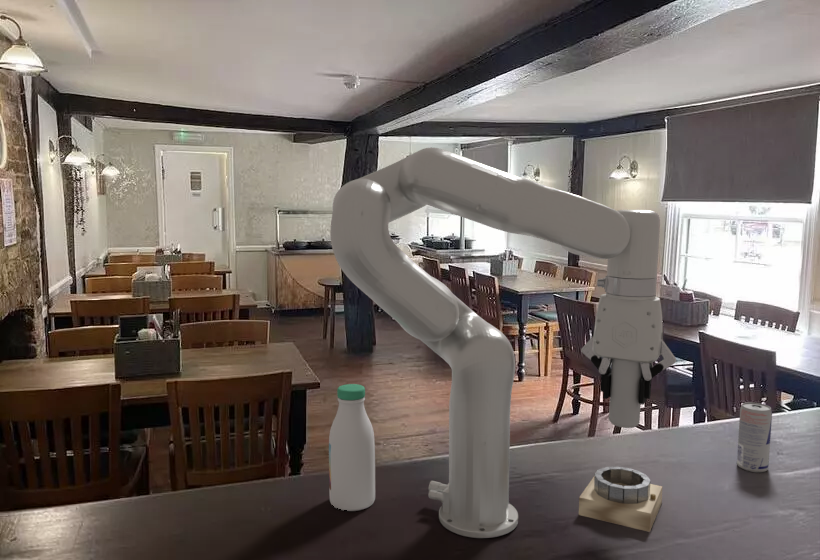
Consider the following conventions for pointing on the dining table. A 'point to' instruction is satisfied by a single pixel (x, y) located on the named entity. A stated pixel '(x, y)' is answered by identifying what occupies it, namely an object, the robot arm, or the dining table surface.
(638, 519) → the mount block
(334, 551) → the dining table surface
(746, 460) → the energy drink
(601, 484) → the mount ring
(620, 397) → the beverage can
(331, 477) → the milk bottle
